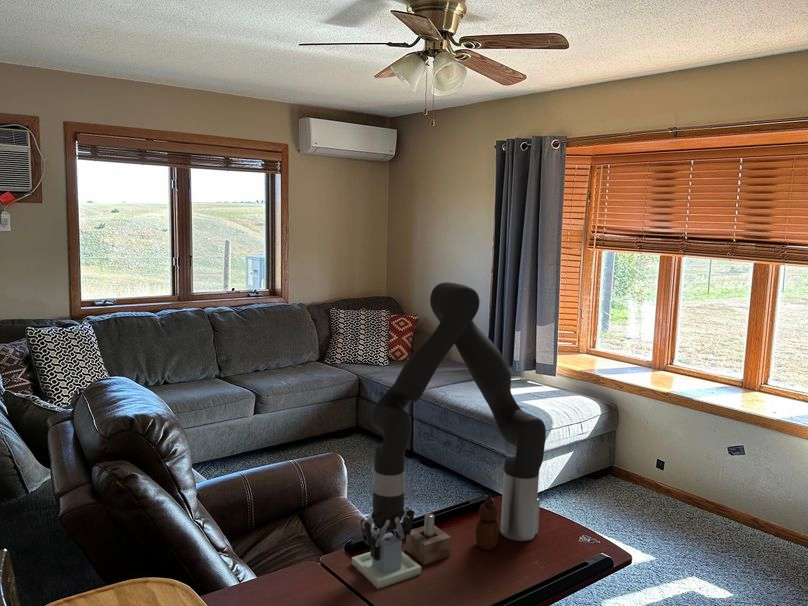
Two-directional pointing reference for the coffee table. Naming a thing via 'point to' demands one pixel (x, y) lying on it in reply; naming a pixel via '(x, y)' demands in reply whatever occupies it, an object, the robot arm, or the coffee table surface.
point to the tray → (379, 580)
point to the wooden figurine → (487, 525)
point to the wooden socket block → (428, 545)
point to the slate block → (389, 554)
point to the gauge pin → (429, 526)
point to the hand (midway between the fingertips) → (386, 555)
